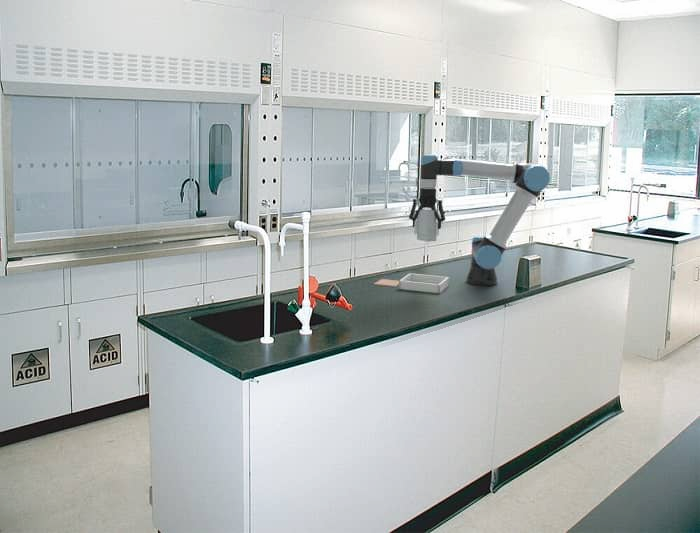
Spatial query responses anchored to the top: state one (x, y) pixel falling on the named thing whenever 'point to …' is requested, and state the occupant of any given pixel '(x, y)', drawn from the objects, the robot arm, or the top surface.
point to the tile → (387, 283)
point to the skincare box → (426, 225)
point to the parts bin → (424, 283)
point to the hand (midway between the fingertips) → (426, 234)
